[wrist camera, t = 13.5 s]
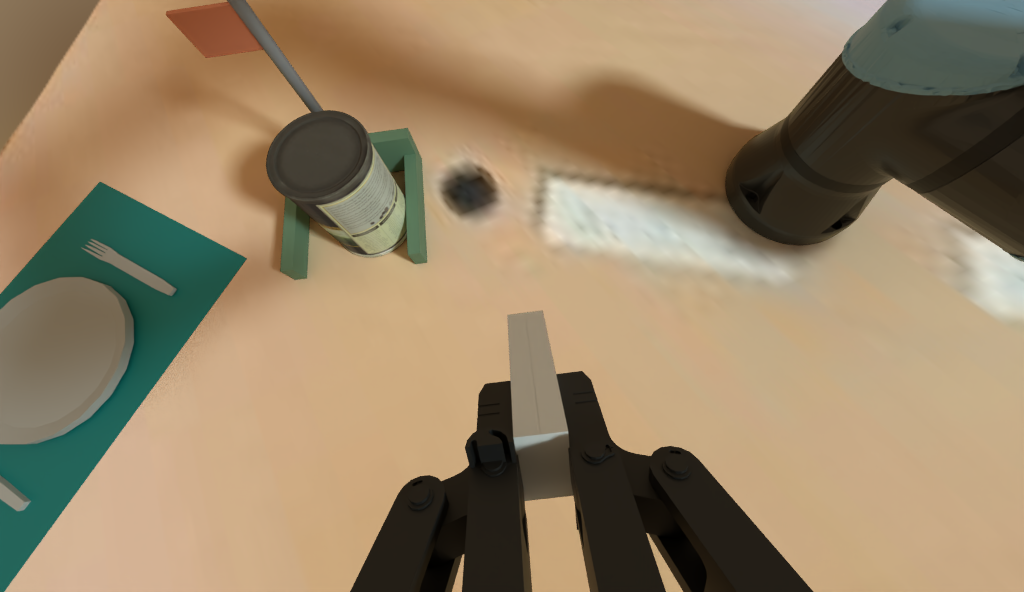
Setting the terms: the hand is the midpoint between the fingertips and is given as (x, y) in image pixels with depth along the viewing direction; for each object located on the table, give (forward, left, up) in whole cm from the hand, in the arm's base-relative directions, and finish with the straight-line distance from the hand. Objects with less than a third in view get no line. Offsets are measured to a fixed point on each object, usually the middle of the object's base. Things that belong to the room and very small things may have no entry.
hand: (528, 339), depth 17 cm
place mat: (+20, -56, -29) cm, 66 cm away
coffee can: (-11, -27, -28) cm, 41 cm away
